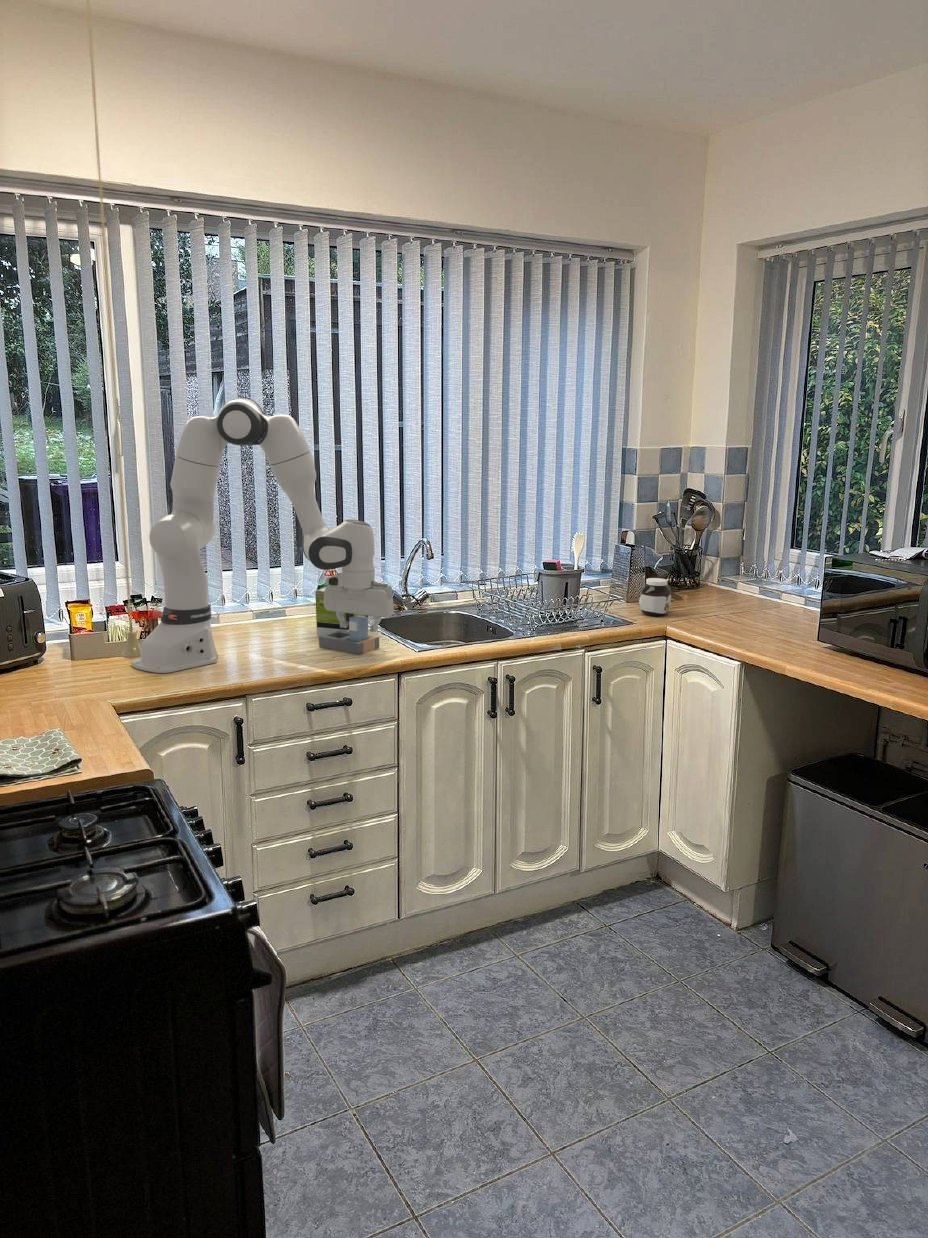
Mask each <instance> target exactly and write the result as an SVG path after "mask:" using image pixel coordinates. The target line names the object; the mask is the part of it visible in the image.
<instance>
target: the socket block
mask: <svg viewBox="0 0 928 1238" xmlns="http://www.w3.org/2000/svg"><path fill="white" fill-rule="evenodd" d="M318 647H319V648H321V649H326V650H332V651H337V652H342V653H347V654H352V655H356V656H360V655H363V654H366V653H369V652H371V651H374V650H377V649H380V636H378V635H377V636H374V635H369V634H368V639H366V640H363V641H360V642H358V641H352V640H350V632H347V631H342V630H339V631H336V632H332V633H329V634H326V635H322V636H318Z"/></svg>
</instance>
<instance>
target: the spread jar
mask: <svg viewBox="0 0 928 1238" xmlns="http://www.w3.org/2000/svg"><path fill="white" fill-rule="evenodd" d="M671 601H672V592H671V589H670V588H669V586H668V580H667V579H665V578H661V577H659V578H658V577H649V578H646V583H645V585H644V587H643V588H642V590H641V593H640V597H639V600H638V603H639V609H640V612H641V613H642V614H643V615H645V616H648V617H656V618H659V617H661V618H662V617H664V616H666V615H667V614H668V613H669V611H670V609H671Z"/></svg>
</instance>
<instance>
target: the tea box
mask: <svg viewBox="0 0 928 1238" xmlns="http://www.w3.org/2000/svg"><path fill="white" fill-rule="evenodd" d="M327 586H328V585H326V586H324V587H321V588H319V589H317V590H315V591H314V593H315V594H314V596H315V597H314V598H315V616H316V617H315V618H316V619H315V622H316V635H317V637H319V636H322V635H326V634H329V633H332V632H336V631H339V630H342V631H347V632H350V630H349V621H350V617H354V616H358V615H359V616H364V617H368V618H369V616H368V615H360V614H352V613H344V614H343V617H344V619H345V621H348V627H347V628H340V622H339V620H338V618H337V616H336V612H335V611H327V610H326V609H325V607H324V591H325V588H326V587H327Z"/></svg>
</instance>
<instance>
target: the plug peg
mask: <svg viewBox="0 0 928 1238" xmlns="http://www.w3.org/2000/svg"><path fill="white" fill-rule="evenodd" d="M349 630H350V640H352V641H358V642H360V641H363V640H366V639H368V635H369V616H368V617H364V616H359V615H358V616H354V617H350V621H349Z"/></svg>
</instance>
